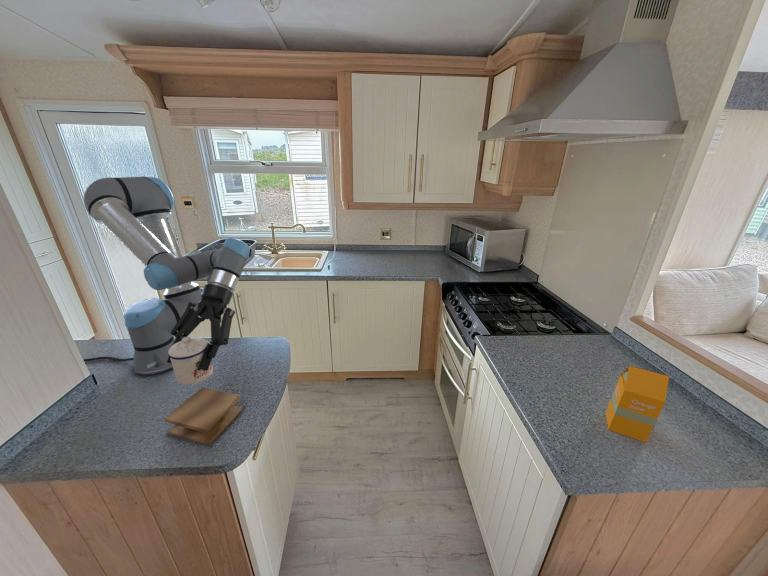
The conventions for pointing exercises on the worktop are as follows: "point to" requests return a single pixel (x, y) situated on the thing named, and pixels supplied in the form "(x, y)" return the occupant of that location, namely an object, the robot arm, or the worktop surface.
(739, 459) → the worktop surface
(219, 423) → the cup stand
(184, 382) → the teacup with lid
